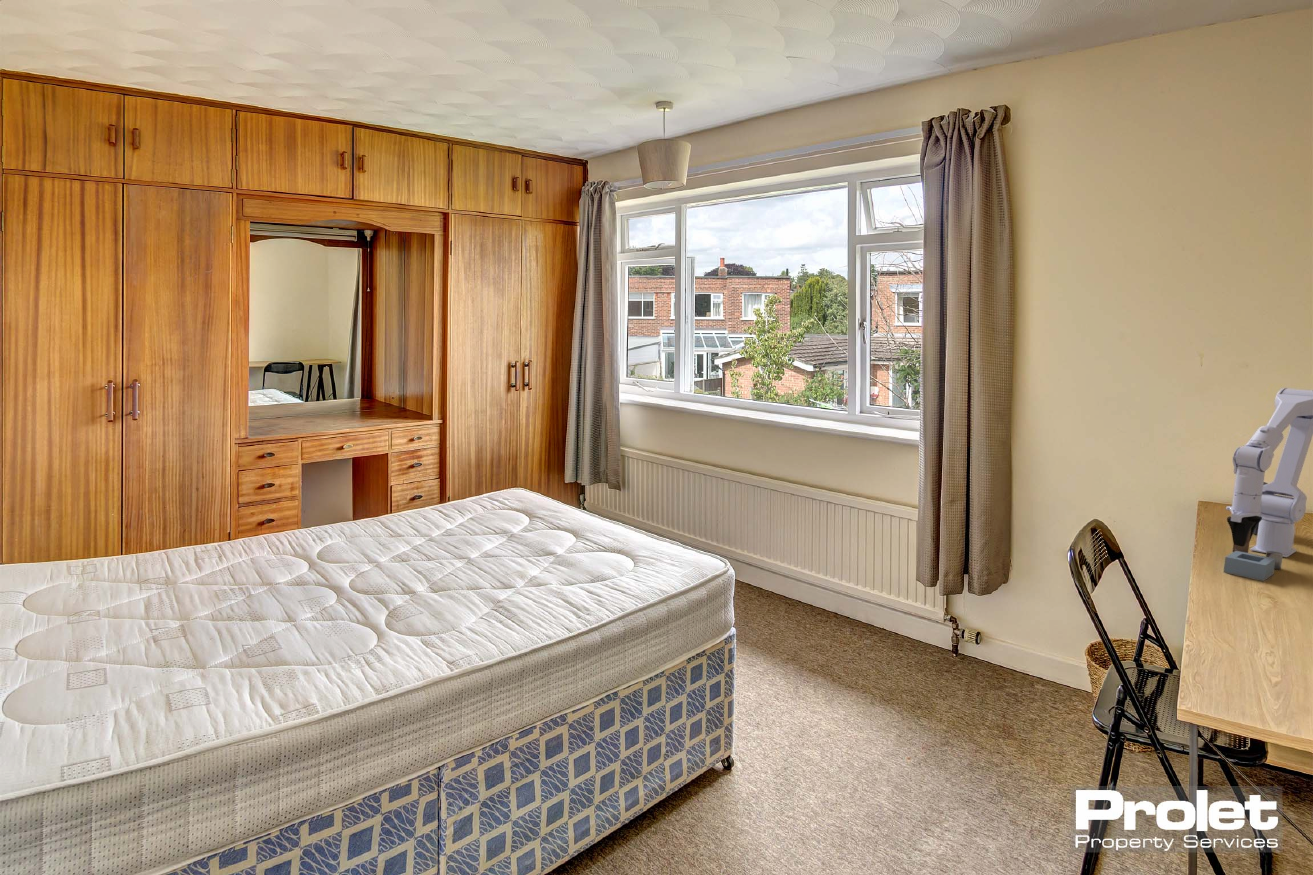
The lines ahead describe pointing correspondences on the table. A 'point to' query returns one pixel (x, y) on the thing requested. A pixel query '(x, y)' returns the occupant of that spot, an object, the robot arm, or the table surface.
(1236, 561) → the hole block
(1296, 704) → the table surface
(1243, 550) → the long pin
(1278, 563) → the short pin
